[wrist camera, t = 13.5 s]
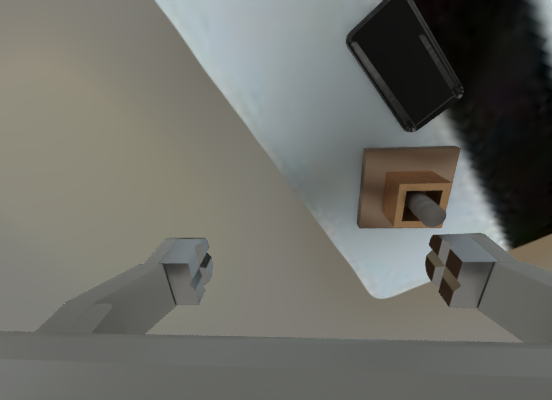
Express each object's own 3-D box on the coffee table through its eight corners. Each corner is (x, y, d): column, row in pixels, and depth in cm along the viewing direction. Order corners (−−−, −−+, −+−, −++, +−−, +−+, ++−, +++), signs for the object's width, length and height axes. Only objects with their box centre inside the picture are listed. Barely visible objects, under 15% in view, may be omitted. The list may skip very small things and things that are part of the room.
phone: (409, 135, 34) (343, 38, 30) (406, 134, 35) (341, 39, 31) (467, 93, 31) (403, -19, 28) (462, 93, 32) (399, -15, 29)
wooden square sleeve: (386, 172, 35) (399, 184, 31) (431, 170, 35) (452, 183, 30) (381, 210, 38) (393, 227, 33) (424, 210, 37) (442, 227, 33)
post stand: (364, 148, 36) (385, 167, 27) (454, 145, 35) (507, 164, 26) (357, 223, 40) (373, 260, 32) (436, 223, 39) (475, 261, 31)
